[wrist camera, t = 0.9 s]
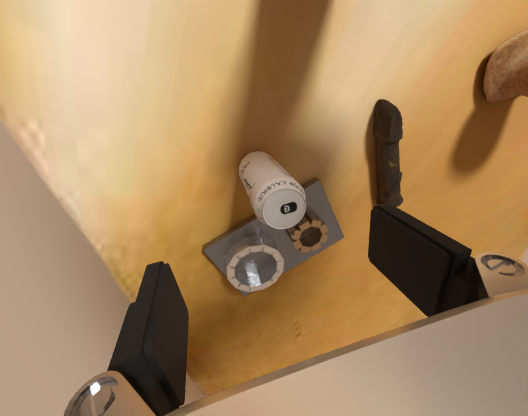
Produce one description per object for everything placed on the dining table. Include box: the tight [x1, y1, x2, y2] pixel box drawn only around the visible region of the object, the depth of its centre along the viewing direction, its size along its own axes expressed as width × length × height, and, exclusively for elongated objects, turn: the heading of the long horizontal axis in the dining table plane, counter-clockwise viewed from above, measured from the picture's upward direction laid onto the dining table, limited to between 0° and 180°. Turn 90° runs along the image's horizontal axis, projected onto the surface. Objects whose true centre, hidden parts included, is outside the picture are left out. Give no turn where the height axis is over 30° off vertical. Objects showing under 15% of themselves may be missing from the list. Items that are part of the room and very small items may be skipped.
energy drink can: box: [239, 151, 306, 229], centre depth 32 cm, size 6×6×15 cm
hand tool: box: [373, 99, 403, 207], centre depth 41 cm, size 19×4×5 cm, turn 15°
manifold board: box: [203, 178, 344, 296], centre depth 43 cm, size 23×14×4 cm, turn 119°
